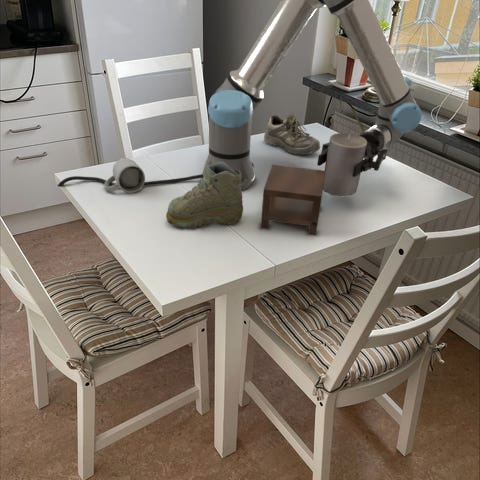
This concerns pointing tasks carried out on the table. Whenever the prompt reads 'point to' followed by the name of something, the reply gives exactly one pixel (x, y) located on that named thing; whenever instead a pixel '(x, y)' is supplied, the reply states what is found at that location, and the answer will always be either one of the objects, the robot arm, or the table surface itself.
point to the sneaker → (209, 199)
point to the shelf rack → (293, 196)
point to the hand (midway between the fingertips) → (336, 166)
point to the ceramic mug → (126, 176)
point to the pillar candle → (343, 163)
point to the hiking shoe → (290, 135)
